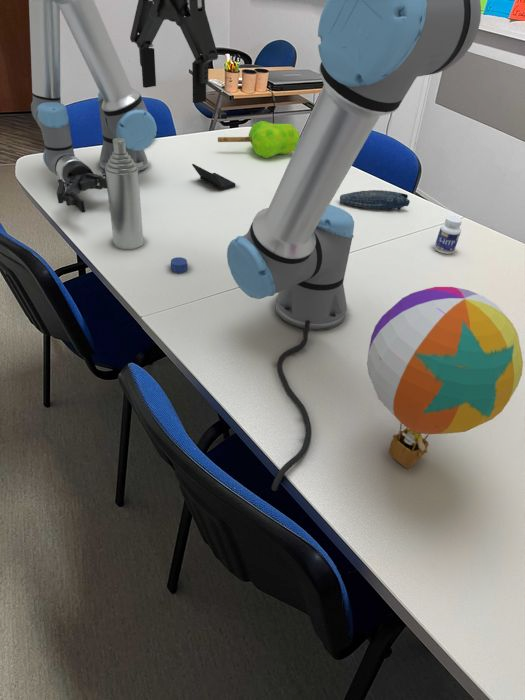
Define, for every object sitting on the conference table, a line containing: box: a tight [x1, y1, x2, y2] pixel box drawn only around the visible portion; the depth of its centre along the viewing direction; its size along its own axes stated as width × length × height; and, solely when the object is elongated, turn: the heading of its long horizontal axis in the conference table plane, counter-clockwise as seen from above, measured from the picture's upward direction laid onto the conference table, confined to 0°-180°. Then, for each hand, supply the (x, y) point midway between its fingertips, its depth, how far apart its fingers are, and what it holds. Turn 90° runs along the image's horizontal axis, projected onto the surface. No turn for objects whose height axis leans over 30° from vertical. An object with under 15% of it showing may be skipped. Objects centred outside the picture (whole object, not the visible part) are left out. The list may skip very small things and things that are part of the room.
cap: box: [170, 256, 188, 274], centre depth 122 cm, size 4×4×2 cm
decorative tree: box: [217, 120, 301, 159], centre depth 187 cm, size 18×10×30 cm
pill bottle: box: [434, 215, 463, 255], centre depth 137 cm, size 5×5×9 cm
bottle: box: [104, 138, 144, 250], centre depth 123 cm, size 7×7×25 cm
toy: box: [366, 286, 524, 469], centre depth 73 cm, size 20×20×30 cm
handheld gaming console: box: [191, 163, 236, 191], centre depth 163 cm, size 12×7×10 cm
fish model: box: [339, 189, 411, 211], centre depth 158 cm, size 7×21×5 cm, turn 84°
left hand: (108, 201), depth 131 cm, fingers open, 13 cm apart
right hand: (173, 94), depth 99 cm, fingers open, 13 cm apart
